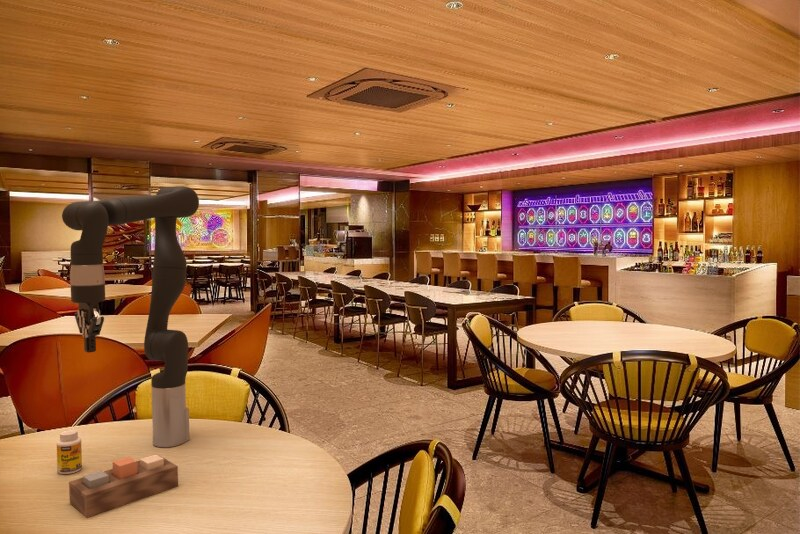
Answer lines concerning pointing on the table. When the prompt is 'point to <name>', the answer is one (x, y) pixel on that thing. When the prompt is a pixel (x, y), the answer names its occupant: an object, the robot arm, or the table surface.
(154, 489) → the frame
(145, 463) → the ivory key
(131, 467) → the terracotta key
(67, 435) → the supplement bottle
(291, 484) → the table surface
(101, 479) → the slate key
